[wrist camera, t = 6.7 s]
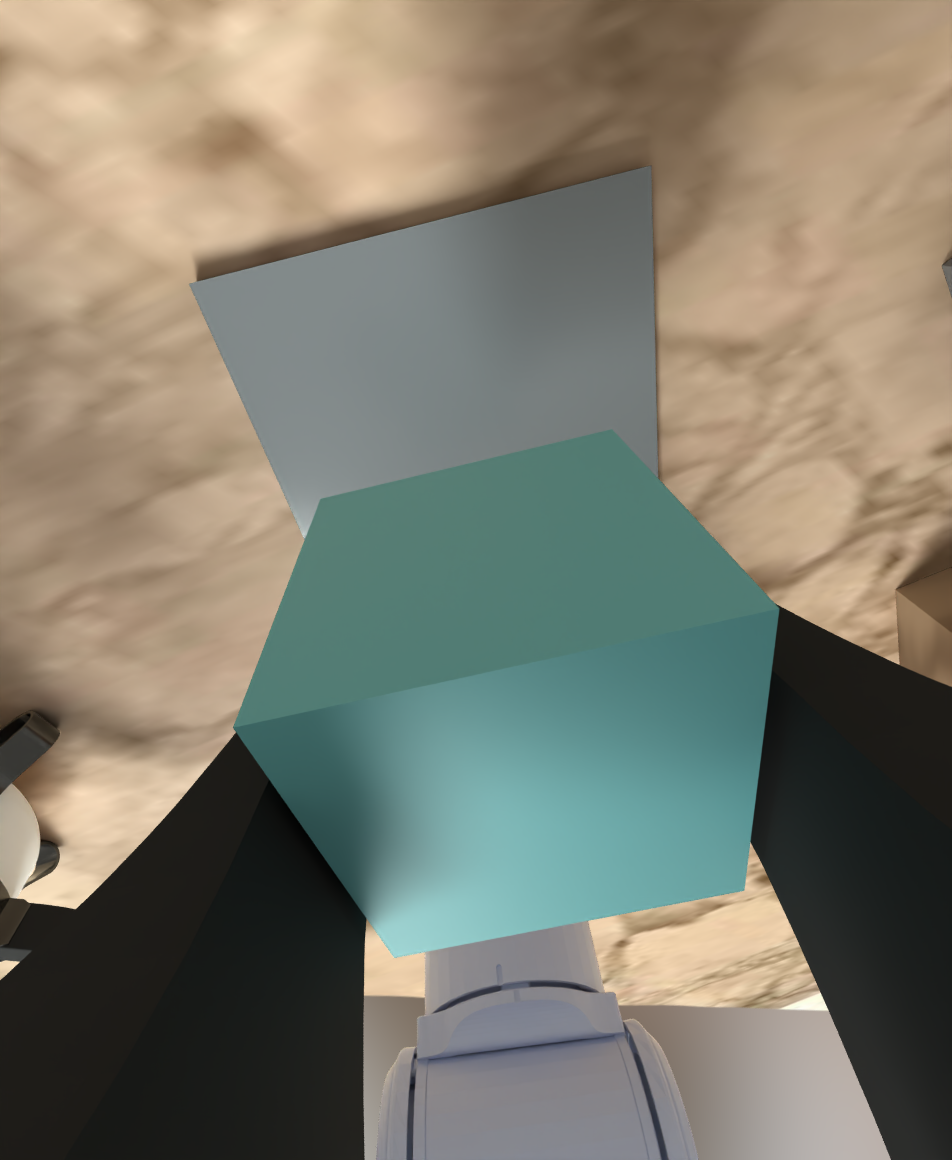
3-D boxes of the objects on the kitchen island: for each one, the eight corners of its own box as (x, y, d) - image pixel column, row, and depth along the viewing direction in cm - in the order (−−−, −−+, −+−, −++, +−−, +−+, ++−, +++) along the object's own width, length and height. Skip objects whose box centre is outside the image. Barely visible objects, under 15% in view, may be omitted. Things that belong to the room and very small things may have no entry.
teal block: (629, 652, 12) (743, 890, 7) (404, 700, 12) (394, 958, 8) (611, 429, 9) (779, 608, 5) (319, 499, 9) (232, 727, 5)
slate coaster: (655, 558, 20) (659, 565, 20) (348, 626, 21) (347, 634, 20) (644, 167, 14) (651, 165, 13) (195, 282, 14) (189, 283, 14)
